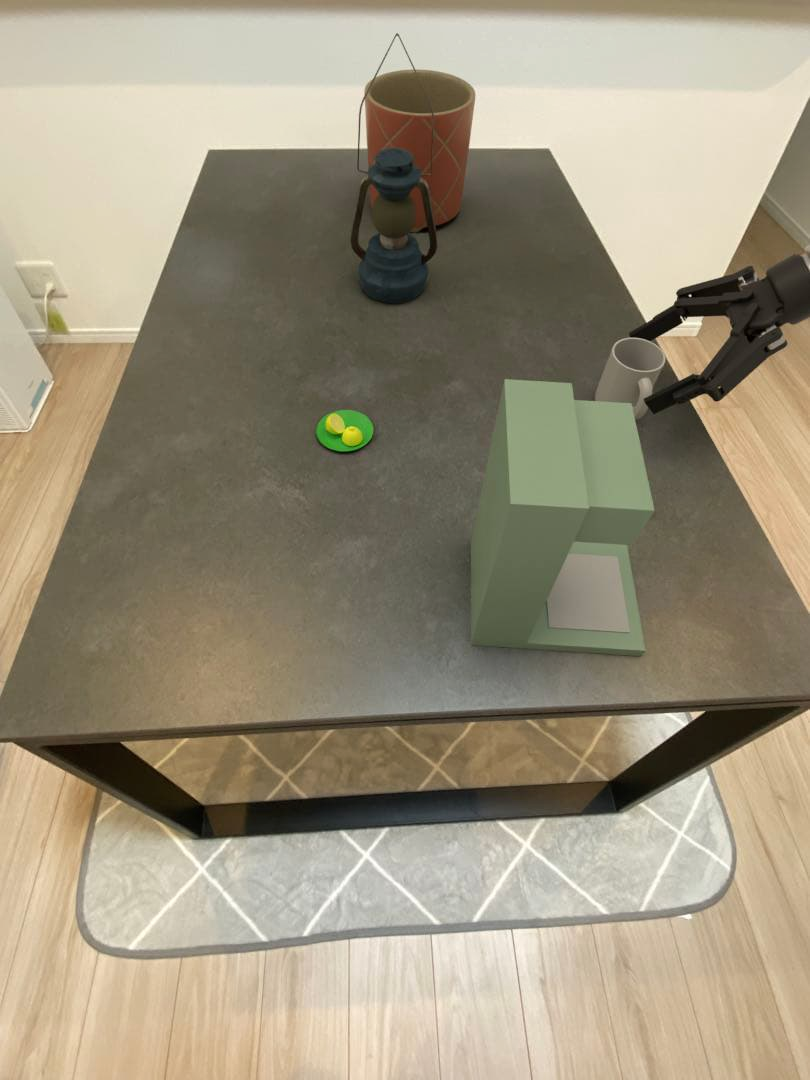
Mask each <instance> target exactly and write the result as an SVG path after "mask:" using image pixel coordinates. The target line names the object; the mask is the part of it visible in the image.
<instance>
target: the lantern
mask: <svg viewBox="0 0 810 1080" xmlns="http://www.w3.org/2000/svg"><path fill="white" fill-rule="evenodd" d="M396 37H398V38H399V41H400V44H401V45H402V48H403V49H404V52H405V54H406V57H407V58H408V61H409V63H410V66H411V67H412V70H414V71H415V74H416V76H417V78H418V80H419V82H420V84H421V87H422V89H423V91H424V93H425V95H426V97H427V100H428V102H429V104H430V108H431V112H432V157H431V172H430V174H424V175H421V172H420V169H419V168H418V167H417V166H416V165H414V157H413V155H412V154H411V153H410V152H408V151H407V150H403V149H400V148H388V149H384V150H381V151H379V152H378V153H377V154H376V156H375V164H373V165H372V166H371V167H370V168H369V167H368V170H367V171H365V170H362V169H360V168H359V166H360V165H359V164H360V144H361V143H360V142H361V118H362V117H361V115H362V108H363V105H364V103H365V98H366V96H367V94H368V92H369V90H370V88H371V86H372V84H373V82H374V80H375V78H376V77H378V76H377V75H378V73H379V72H380V70H381V67H382V65H383V64H384V62H385V59H386V57H387V56H388V54H389V51H390V50H391V47H392V46H393V44H394V41H395V39H396ZM408 53H409V52H408V51H407V49H406V47H405V44H404V43H403V40H402V38H401V36H400V34H399V33H395V35H394V36H393V39H392V41H391V43H390V45H389V47H388V49H387V51H386V53H385V54H384V57H383V58H382V61H381V62H380V65H379V66H378V68H377V70H376V72H375V74H374V76H373V78H372V79H373V80H372V79H371V80H372V82H371V84H370V86H369V88H368V90H367V92H366V94H365V95H364V96H363V97H362V100H361V103H360V106H359V111H358V112H359V113H358V135H357V161H356V162H357V164H356V165H357V167H356V168H357V171H358V172H360V173H363V174H367V175H365V176H363V178H362V180H361V182H360V186H359V191H358V196H357V201H356V206H355V212H354V217H353V222H352V226H351V234H350V246H351V249H352V251H353V252H354V254H355V255H356V256H357V257H358V258H359V259H361V260H360V261H359V263H358V279H359V282H360V284H361V287H362V288H363V289H362V290H363V291H364V292H365V293H366V295H367V296H369V297H370V298H371V299H373V300H375V301H378V302H381V303H386V304H403V303H407V302H410V301H412V300H414V299H416V298H418V297H419V296H420V295H421V293H422V291H423V290H424V288H425V286H426V284H427V281H428V277H429V276H428V275H429V266H428V264H427V263H428V262H429V261H431V259H432V258H433V257H434V256H435V254H436V253H437V249H438V235H437V234H438V233H437V228H436V226H435V222H434V216H433V210H432V204H431V198H430V192H429V187H428V184H427V182H426V181H425V180H424V179H422V178H420V177H421V176H428V175H431V173H432V163H433V126H434V114H433V108H432V105H431V102H430V100H429V98H428V96H427V93H426V91H425V89H424V87H423V85H422V83H421V81H420V79H419V76H418V74H417V72H416V70H417V69H416V68H415V65H414V64H413V62H412V59H411V57H410V55H409V54H408ZM371 184H373V186H374V187H375V188H376V189H377V190H378V192H379V195H378V196H377V197H376V198H375V200H374V203H373V207H371V212H372V215H371V216H372V223H373V227H374V229H376V231H377V233H375V234H373V236H371V237H370V239H369V240H368V242H367V243H368V244H367V247H366V249H364V248H363V247H362V246H361V245H360V243H359V235H360V226H361V222H362V217H363V212H364V207H365V202H366V199H367V198H366V197H367V192H368V189H369V188H370V185H371ZM415 187H418V188H419V189H420V191H421V194H422V200H423V205H424V211H425V216H426V222H427V227H426V228H427V232H428V240H429V248H428V250H426V251H425V252H424V253H423V254H422V250H421V249H420V246H419V245H420V244H419V241H418V239H417V238H416V237H415V236H414V235H412V234H410V233H411V232H410V231H411V230H412V229H413V227H414V224H415V219H416V209H415V204H414V200H413V199H412V198H411V197H410V195H409V194H410V192H411V190H413V189H414V188H415Z"/></svg>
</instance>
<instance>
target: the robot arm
mask: <svg viewBox="0 0 810 1080" xmlns="http://www.w3.org/2000/svg"><path fill="white" fill-rule="evenodd" d="M675 295H676V296H677V297H676V300H675V301H674V303H673V304H672V305H671V306H669V307H667V308H666V309H664V310H663V311H660V312H659V313H657V314H656V315H655V316H653V317H652V319H650V320H649V321H647V322H645V323H643V324H642V325H640V326H638V327H636V328H635V329H633V330H631V331H630V332H628V335H629V338H641V339H645V340H648V341H650V342H653V340H655V339H657V338H659V337H661V336H662V335H665V334H666V333H668V332H671V330H674V329H675V328H676V327H679V326H680V325H682V324H684V322H683V321H686V320H687V319H688V318H703V317H726V318H728V319H729V324H730V327H731V328H732V329H731V330H730V331H729V337H728V338H727V340H726V341H725V342H724V343H723V345H722V346H721V347H720V349H719V350H718V351H717V352H716V353H715V355H714V356H713V357H712V359H711V360H710V362H709V363H708V364H707V365H706V366H705V368H704V369H703V371H702V372H701V373H700V374H697V373H691V374H690V375H688V376H685V377H684V378H682V379H679V380H678V381H676V382H674V383H672V384H670V385H668V386H666V387H664V388H662V389H661V390H658V391H656V392H654V393H652V395H650V396H648V397H646V398H644V403H645V404H646V405H647V407H648V409H649V410H650V412H651V413H652V414H653V415H655V414H658V413H659V412H662V411H664V410H666V409H668V408H670V407H672V406H674V405H676V404H677V405H678V406H679V405H683V404H685V403H687V402H689V401H691V400H693V399H695V398H698V397H700V396H703V395H708V397H710V398H711V399H712V401H714V402H715V403H716V402H720V401H722V400H723V399H724V398H725V397H726V396H728V394H730V392H732V391H733V390H734V389H735V388H736V387H737V386H739V385H740V383H742V382H743V381H744V380H745V379H746V378H747V377H748V376H750V374H751V373H753V372H754V371H755V370H756V369H758V367H760V366H761V364H763V363H764V362H766V360H767V359H768V358H769V357H771V356H773V355H774V354H776V353H778V352H780V351H782V350H784V349H785V348H786V347H787V346H788V344H789V343H788V341H787V338H786V336H785V334H784V333H783V331H782V328H781V327H782V326H784V325H786V324H790V325H792V326H793V325H794V326H795V325H797V324H799V323H802V322H804V321H805V320H807V319H809V318H810V244H807V245H806V246H805V247H804V253H803V254H802V255H800V253H793V254H791V255H790V256H788V257H786V258H784V259H782V260H781V261H779V262H777V263H775V264H774V265H772V266H770V267H768V268H767V270H766V271H765V277H763V278H762V279H760V278H759V276H758V274H757V272H756V270H755V268H754V266H753V265H749V266H746V267H744V268H742V269H740V270H738V271H736V272H734V273H731V274H728V275H724V276H719V277H717V278H713V279H710V280H706V281H701V282H698V283H695V284H691V285H687V286H684V287H680V288H679V289H678V290H677V291H676V292H675Z"/></svg>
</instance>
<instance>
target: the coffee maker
mask: <svg viewBox="0 0 810 1080" xmlns="http://www.w3.org/2000/svg"><path fill="white" fill-rule="evenodd" d="M636 421H637V420H635V417H634V412H633V408H632V404H631V403H617V402H601V401H595V400H583V399H575V395H574V390H573V383H572V382H559V381H543V380H542V381H541V380H525V379H524V380H523V379H509V378H504V380H503V385H502V390H501V394H500V399H499V403H498V408H497V413H496V419H495V423H494V428H493V434H492V438H491V442H490V447H489V452H488V457H487V462H486V467H485V471H484V475H483V476H484V477H483V481H482V486H481V491H480V494H479V500H478V505H477V509H476V514H475V520H474V524H473V529H472V534H471V539H470V646H483V647H498V648H510V649H511V648H513V649H526V650H527V649H529V650H540V651H541V650H543V651H555V652H556V651H557V652H559V651H560V652H573V653H574V652H575V653H589V654H601V655H602V654H603V655H618V656H633V657H642V656H643V655H644V654H645V652H646V645H645V639H644V634H643V627H642V621H641V616H640V610H639V605H638V599H637V593H636V588H635V582H634V576H633V572H632V566H631V559H630V554H629V548H628V546H634V545H635V543H636V542H637V540H638V538H639V537H640V536H641V533H642V532H643V530H644V529H645V527H646V525H647V524H648V522H649V520H650V519H651V517H652V516H653V514H654V512H655V510H656V509H655V506H654V505H655V504H654V501H653V495H652V491H651V487H650V482H649V478H648V477H649V476H648V473H647V468H646V464H645V463H646V462H645V460H644V459H645V458H644V455H643V449H642V445H641V441H640V436H639V431H638V427H637V423H636Z"/></svg>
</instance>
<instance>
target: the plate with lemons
mask: <svg viewBox="0 0 810 1080" xmlns="http://www.w3.org/2000/svg"><path fill="white" fill-rule="evenodd" d="M315 431H316V437H317V440H318V441H319V442H320V443H321V444H322V445H323V446H324V447H326V448H328V449H330V450H333V451H337V452H352V451H356V450H359V449H361V448H362V447H364V446H366V445H367V444H368V443H369V442H370V441H371V440H372V438H373V435H374V425H373V423H372V421H371V420H370V418H369V417H368V416H367V415H365V414H364V413H362V412H359V411H356V410H351V409H340V410H336V411H332V412H330V413H328V414H327V415H325V416H324V417H322V418H321V419H320V420H319V422H318V424H317V426H316V429H315Z"/></svg>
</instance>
